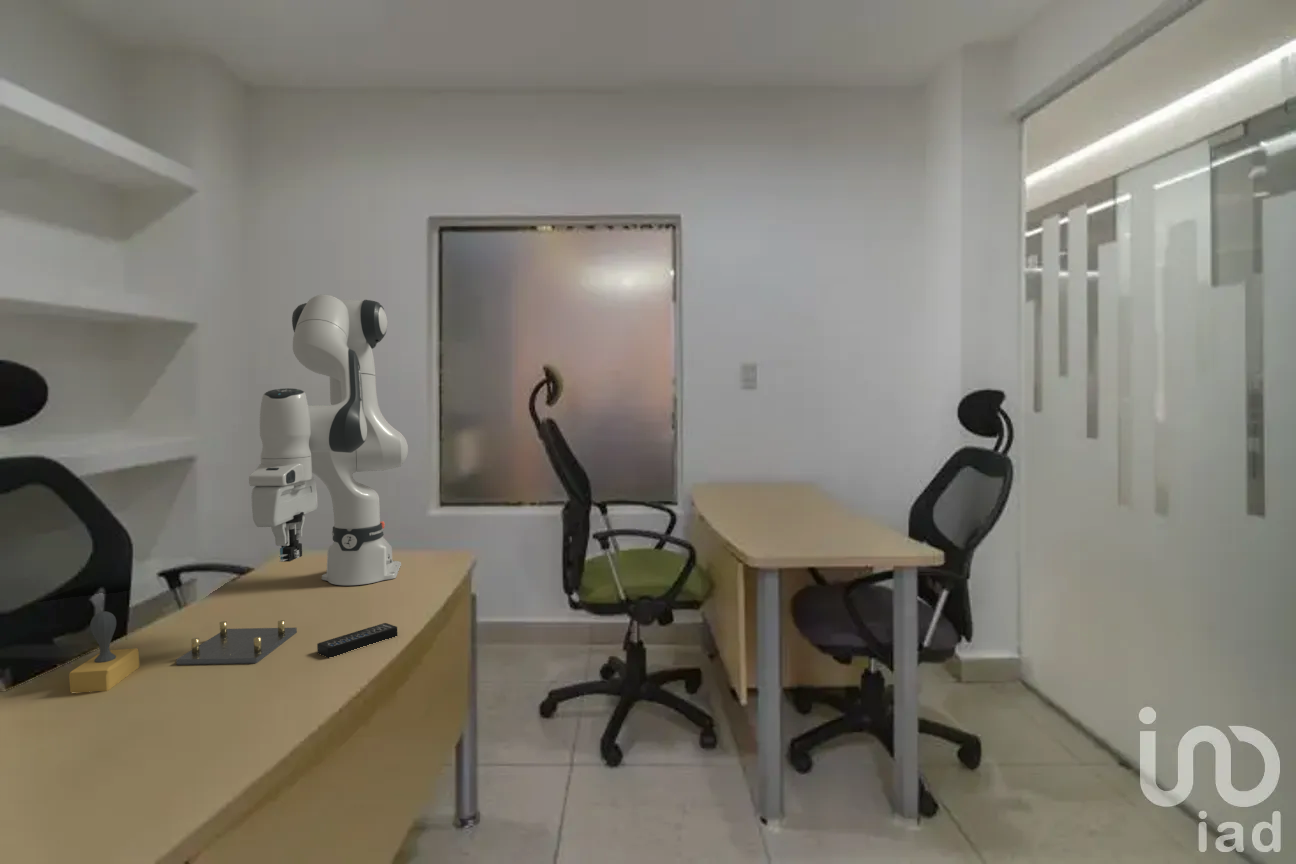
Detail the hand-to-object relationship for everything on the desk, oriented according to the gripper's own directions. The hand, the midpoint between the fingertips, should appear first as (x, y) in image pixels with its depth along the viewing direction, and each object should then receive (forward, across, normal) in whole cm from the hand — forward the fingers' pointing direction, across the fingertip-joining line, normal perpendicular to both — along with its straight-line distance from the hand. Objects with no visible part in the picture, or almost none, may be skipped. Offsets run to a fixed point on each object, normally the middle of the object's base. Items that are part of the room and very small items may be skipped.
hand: (289, 541), depth 137 cm
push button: (+4, 0, 0) cm, 4 cm away
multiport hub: (+20, +4, +14) cm, 25 cm away
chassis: (+20, +4, -8) cm, 21 cm away
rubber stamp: (+20, +18, -23) cm, 35 cm away
